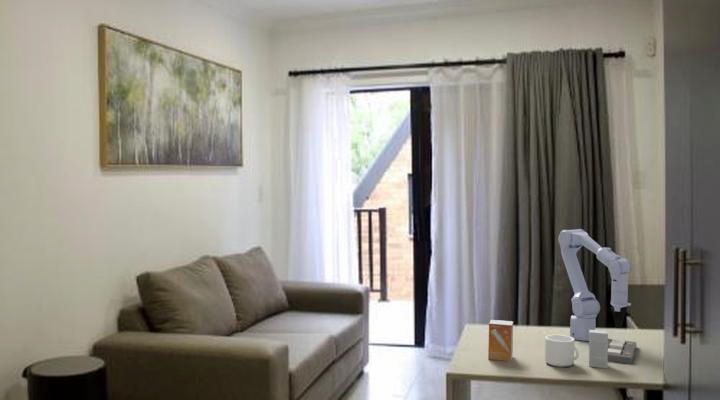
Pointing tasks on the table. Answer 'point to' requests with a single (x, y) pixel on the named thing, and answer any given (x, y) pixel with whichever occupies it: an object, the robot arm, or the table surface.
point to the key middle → (616, 345)
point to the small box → (500, 340)
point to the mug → (560, 350)
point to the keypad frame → (623, 353)
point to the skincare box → (598, 348)
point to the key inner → (618, 341)
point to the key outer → (614, 351)
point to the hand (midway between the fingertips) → (618, 326)
